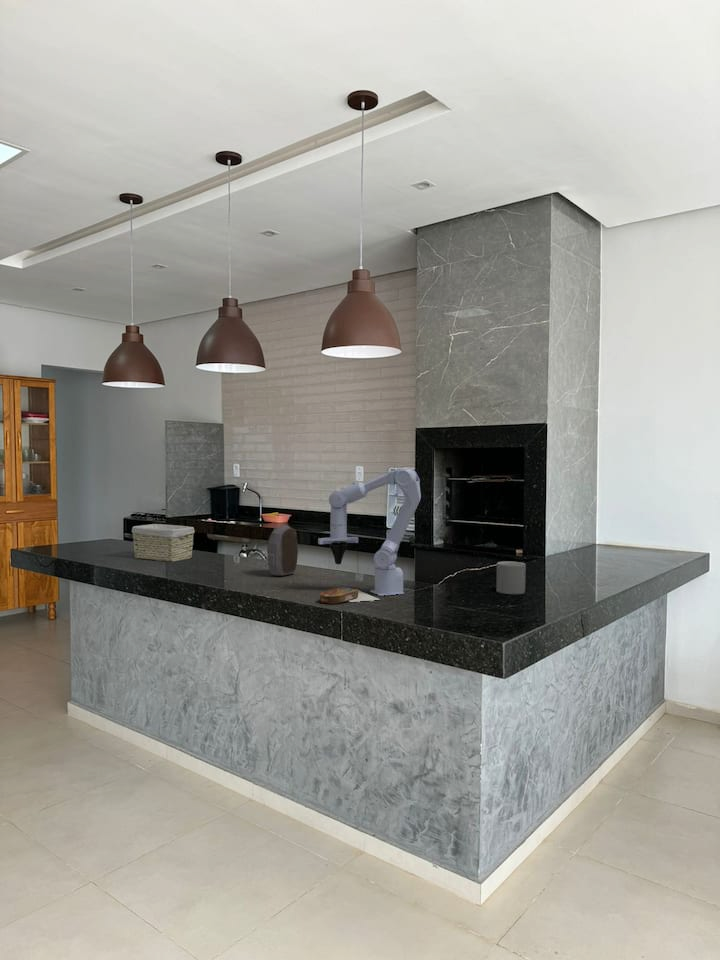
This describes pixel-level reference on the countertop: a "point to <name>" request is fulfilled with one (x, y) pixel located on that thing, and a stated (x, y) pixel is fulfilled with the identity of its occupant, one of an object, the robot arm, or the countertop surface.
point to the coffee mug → (510, 577)
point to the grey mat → (363, 597)
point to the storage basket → (163, 542)
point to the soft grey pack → (282, 551)
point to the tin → (339, 595)
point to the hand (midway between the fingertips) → (338, 563)
